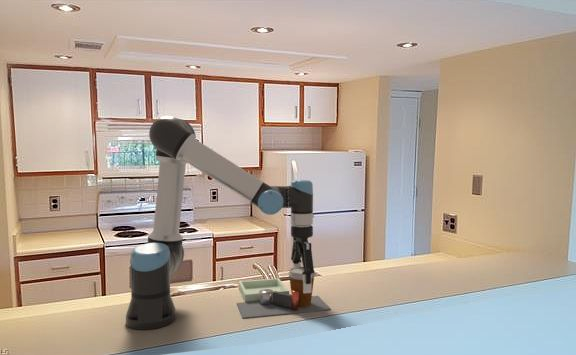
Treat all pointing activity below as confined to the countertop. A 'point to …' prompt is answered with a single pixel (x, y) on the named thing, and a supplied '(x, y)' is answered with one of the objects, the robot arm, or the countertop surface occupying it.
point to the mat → (278, 308)
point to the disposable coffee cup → (300, 285)
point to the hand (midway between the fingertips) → (301, 287)
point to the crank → (287, 299)
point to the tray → (260, 288)
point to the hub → (266, 297)
